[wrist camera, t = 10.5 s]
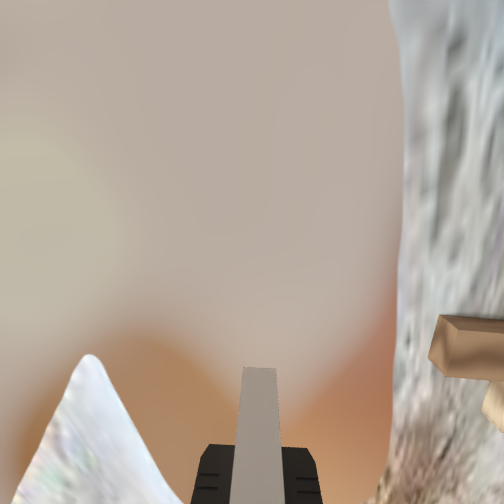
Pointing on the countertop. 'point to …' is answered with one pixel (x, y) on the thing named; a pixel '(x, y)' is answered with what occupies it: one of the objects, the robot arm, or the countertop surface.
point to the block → (468, 348)
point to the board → (495, 404)
